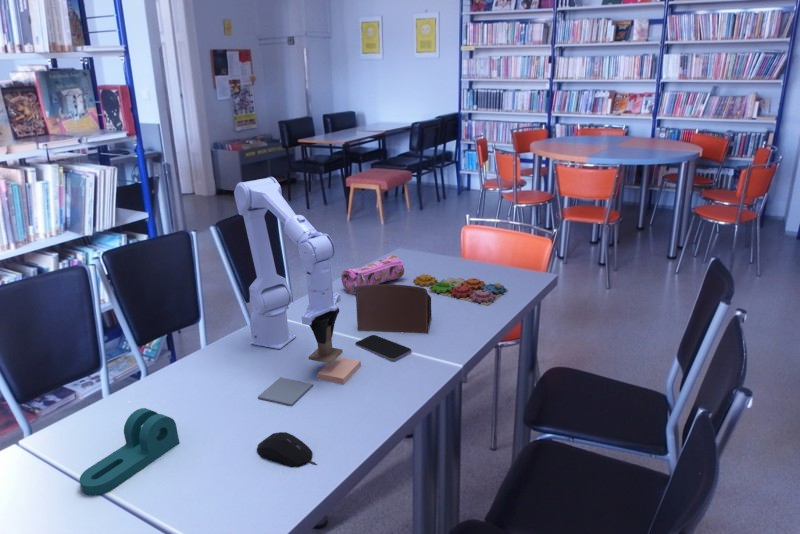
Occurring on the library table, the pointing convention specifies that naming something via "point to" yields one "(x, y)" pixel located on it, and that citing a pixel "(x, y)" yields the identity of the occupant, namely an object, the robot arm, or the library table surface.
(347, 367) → the tile
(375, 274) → the pencil case
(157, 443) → the bracket
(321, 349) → the stamp
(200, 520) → the library table surface
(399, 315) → the letter holder
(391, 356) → the smartphone
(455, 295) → the gear puzzle
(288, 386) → the mat
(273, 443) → the gaming mouse
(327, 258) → the robot arm
